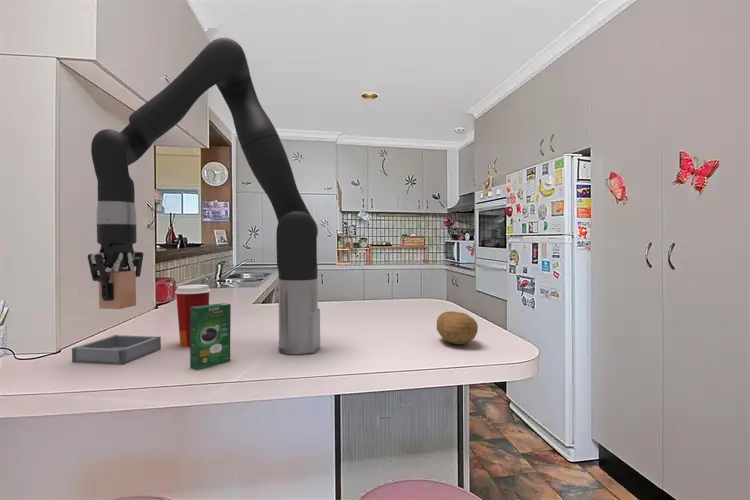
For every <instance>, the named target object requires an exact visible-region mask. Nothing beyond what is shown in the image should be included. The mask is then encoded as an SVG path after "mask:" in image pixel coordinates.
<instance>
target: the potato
mask: <svg viewBox="0 0 750 500" xmlns="http://www.w3.org/2000/svg"><path fill="white" fill-rule="evenodd" d="M478 329H479V326H478V323H477V321H476V320H475V318H473V317H472V316H470V315H469V314H467V313H465V312H460V311H459V312H457V311H454V310H453V311H452V310H451V311H445V312H442V313H441V314H439V316H438V317H437V319H436V331H437V333H438V334H439V336H440V337H441V338H442V340H445V341H446V342H449V343H451V344H452V345H467V344H468V343H469V342H471V341H472V340H474V339H475V338H476V336H477V334H478Z"/></svg>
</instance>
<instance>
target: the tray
mask: <svg viewBox="0 0 750 500" xmlns="http://www.w3.org/2000/svg"><path fill="white" fill-rule="evenodd" d="M161 341H162V338H161V336H153V335H152V336H148V335H146V336H145V335H125V334H114V335H110V336H107V337H105V338H104V337H103V338H101V339H98V340H95V341H92V342H88V343H85V344H81V345H78V346H75V347H72V348H71V363H74V364H75V363H78V364H98V365H119V366H123V365H126V364H128V363H131V362H133V361H137V360H138V359H140V358H143V357H146V356H148V355H150V354H154V353H155V352H158V351H160V350H161V349H162V344H161Z"/></svg>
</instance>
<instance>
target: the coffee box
mask: <svg viewBox="0 0 750 500" xmlns="http://www.w3.org/2000/svg"><path fill="white" fill-rule="evenodd" d="M231 309H232V308H231V303H228V302H223V303H222V302H220V303H214V304H213V303H212V304H209V305H204V306H195V307H191V323H190V347H189V354H190V356H189V367H190V369H191V370H195V371H200V370H205V369H207V368H211V367H214V366H217V365H221V364H225V363H229V362H231V321H232V320H231V317H232V316H231V315H232V314H231Z"/></svg>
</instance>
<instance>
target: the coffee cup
mask: <svg viewBox="0 0 750 500" xmlns="http://www.w3.org/2000/svg"><path fill="white" fill-rule="evenodd" d="M210 292H212V290H211V289H210V286H209V285H208V284H185V285H183V284H182V285H179V286H177V287H176V290H175V291H174V293H175V294H176V306H177V309H176V310H177V320H178V331H179V333H178V334H179V344H180V346H181V347H183V348H185V347H186V348H190V323H191V307H195V306H204V305H210Z"/></svg>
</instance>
